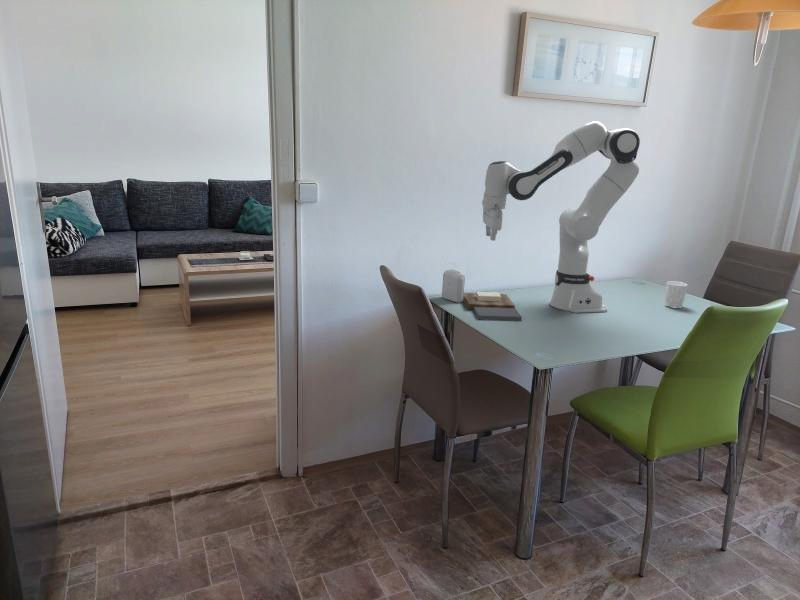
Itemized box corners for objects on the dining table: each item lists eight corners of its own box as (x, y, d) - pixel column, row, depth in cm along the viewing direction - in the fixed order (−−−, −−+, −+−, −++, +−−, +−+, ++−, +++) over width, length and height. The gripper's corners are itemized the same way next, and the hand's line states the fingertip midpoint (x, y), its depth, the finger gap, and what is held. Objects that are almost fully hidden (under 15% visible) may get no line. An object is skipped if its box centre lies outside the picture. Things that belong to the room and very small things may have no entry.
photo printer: (440, 297, 240) (441, 268, 237) (447, 296, 243) (449, 267, 239) (456, 303, 232) (459, 273, 229) (464, 302, 235) (467, 272, 231)
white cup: (673, 303, 246) (677, 280, 244) (687, 308, 239) (692, 285, 236) (658, 304, 244) (662, 281, 241) (672, 309, 237) (676, 286, 234)
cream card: (497, 297, 235) (498, 292, 234) (501, 301, 229) (501, 296, 228) (475, 296, 234) (476, 291, 234) (478, 300, 228) (478, 295, 228)
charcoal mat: (514, 311, 225) (515, 308, 224) (521, 320, 214) (521, 316, 214) (473, 310, 224) (474, 306, 223) (478, 319, 213) (478, 315, 213)
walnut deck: (505, 300, 240) (506, 294, 240) (514, 311, 225) (515, 305, 224) (462, 298, 239) (463, 292, 239) (468, 310, 224) (468, 304, 223)
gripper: (507, 207, 218) (503, 243, 222) (497, 200, 238) (493, 234, 241) (491, 206, 218) (487, 242, 221) (481, 199, 237) (478, 233, 241)
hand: (490, 238), depth 232 cm, fingers open, 8 cm apart
